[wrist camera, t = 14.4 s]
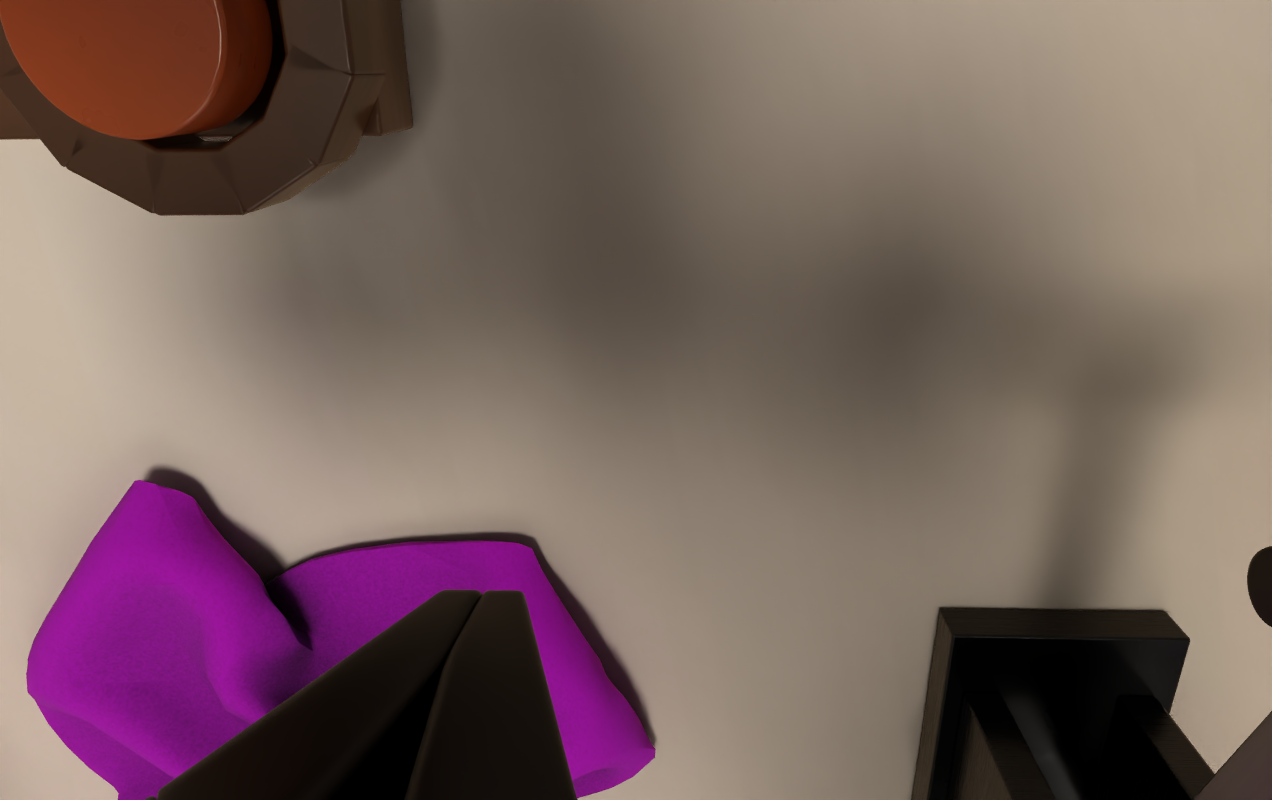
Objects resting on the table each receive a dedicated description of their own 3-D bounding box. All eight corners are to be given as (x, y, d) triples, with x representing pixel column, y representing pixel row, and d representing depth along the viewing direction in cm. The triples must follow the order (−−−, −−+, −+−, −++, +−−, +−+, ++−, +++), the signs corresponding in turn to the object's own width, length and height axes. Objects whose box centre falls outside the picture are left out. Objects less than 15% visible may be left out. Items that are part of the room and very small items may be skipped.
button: (290, 131, 15) (244, 139, 14) (98, 133, 15) (30, 141, 14) (254, -96, 14) (199, -118, 12) (43, -92, 14) (-39, -113, 12)
